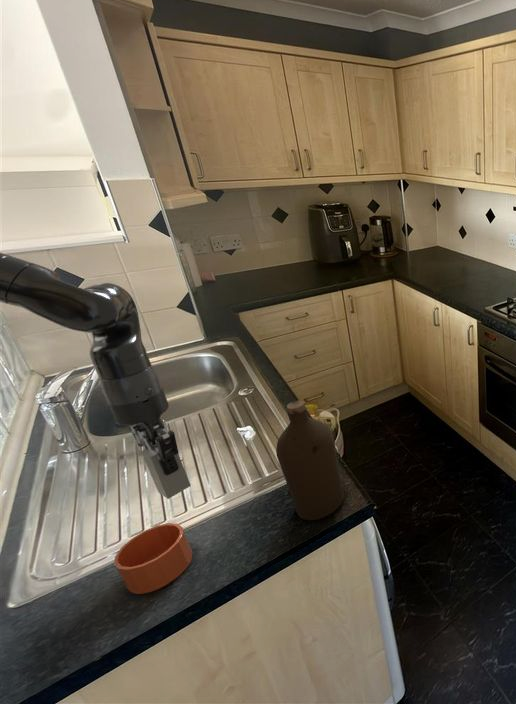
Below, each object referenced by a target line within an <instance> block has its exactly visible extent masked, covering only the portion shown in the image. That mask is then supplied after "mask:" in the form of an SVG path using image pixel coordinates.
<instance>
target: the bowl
mask: <svg viewBox="0 0 516 704" xmlns="http://www.w3.org/2000/svg"><path fill="white" fill-rule="evenodd" d="M192 560H193V550H192V546H191V544H190V542H189V539H188V537H187V534H186V533H185V530H184V528H183V526H182V525H180V524H178V523H175V522H174V523H172V522H167V523H162V524H158V525H155V526H152V527H151V528H148V529H146V530H143V531H142V532H140V533H138V534H137V535H135V536H133V537H132V538H131V539H129V540H128V541H127V542H126V543H124V545H122V546H121V548H119V550H118V552H117V553H116V555H115V556H114V561H113V565H114V567H115V569H116V571H117V573H118V575H119V577H120V579H121V582H122V583H123V584H124V586H125V588H126V589H127V591H128V592H130V594H135V595H143V594H148V593H152V592H154V591H157V590H159V589H161V588H163V587H166V586H167V585H168V584H170V583H172V582H174V581H175V580H176V579H177V578H178V577H180V576H181V575H182V574H183V573H184V571H185V570H187V568H188V567H189V565H190V564H191V562H192Z"/></svg>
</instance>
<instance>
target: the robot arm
mask: <svg viewBox="0 0 516 704" xmlns="http://www.w3.org/2000/svg"><path fill="white" fill-rule="evenodd" d="M0 303H3V304H6V305H10V306H14V307H18V308H21V309H24V310H27V311H28V312H30V313H32V314H34V315H36V316H38V317H41V318H43V319H45V320H46V321H49V322H51V323H54V324H55V325H58V326H60V327H63V328H66V329H68V330H73V331H75V332H82V333H89V334H91V335H92V344H91V346H90V347H89V359H90V360H91V363H92V366H93V368H94V370H95V372H96V374H97V378H98V379H99V382H100V387H101V391H102V393H103V395H104V397H105V400H106V402H107V404H108V406H109V409H110V411H111V414H112V416H113V418H114V420H115V422H116V424H118V425H120V426H127V427H128V428H129V431H130V432H131V434H132V436H133V438H134V439H135V441H136V443H137V446H138V447H140V448H142V451H143V450H145V449H147V448H148V449H149V450H151V451H154V453H155V455H156V457H157V460H158V461H159V463H160V465H161V468H162V470H163V473H164V474H165V475H170V474H172V473H174V472H175V471H177V470H178V469H179V467H178V464H177V462H176V459H175V457H174V455H176V454H179V448H178V444H177V440H176V435H175V432H174V431H173V429H171V430H168V425H167V422H166V420H164V419H161V416H162V415H164V413H166V411H168V409H169V406H170V404H169V401H168V398H167V396H166V394H165V391H164V388H163V386H162V383H161V381H160V378H159V375H158V374H157V372H156V370H155V368H154V367H153V364H152V363H151V359H150V357H149V355H148V352H147V350H146V347H145V345H144V343H143V339H142V330H141V324H140V317H139V313H138V308H137V305H136V302H135V300H134V298H133V297H132V295H131V294H130V293H129V292H128V290H126V289H125V288H123V287H122V286H119V285H118V284H115V283H111V282H99V283H94V284H90V285H88V286H87V287H85V288H82V287H79V286H76V285H73V284H71V283H68V282H65V281H63V280H61V279H60V276H59V274H57V272H56V271H54V270H52V269H50V268H48V267H46V266H43V265H40V264H37V263H34V262H31V261H28V260H25V259H22V258H18V257H16V256H13V255H10V254H7V253H4V252H1V251H0Z"/></svg>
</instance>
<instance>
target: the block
mask: <svg viewBox="0 0 516 704" xmlns="http://www.w3.org/2000/svg"><path fill="white" fill-rule="evenodd" d="M140 452H141V455H142V457H143V460H144V462H145V464H146V467H147V469H148V471H149V474H150V476H151V478H152V480H153V483H154V485H155V487H156V491H157V492H158V493H159V494H160V495H162V496H163V497H164V498H166V499H167V500H169V499H171V498H173V497H174V496H176V495H178V494H179V493H181V492H183V491H184V490H186V489H189V488H190V487H192V486H191V482H190V480H189V476H188V475H187V472H186V469H185V466H184V464H183V462H182V459H181V457H180V454H179V453H178V454H176V455H174V457H175V459H176V462H177V464H178V467H179V469H178V470H177V471H175V472H174V473H172V474H170V475H165V474H164V473H163V470H162V468H161V465H160V463H159V461H158V460H157V457H156V455H155V453H154V451H151V450H149V449H148V448H147V449H145V450H143V449H142V450H140Z"/></svg>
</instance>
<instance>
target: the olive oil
mask: <svg viewBox="0 0 516 704" xmlns="http://www.w3.org/2000/svg"><path fill="white" fill-rule="evenodd" d="M286 410H287V416H288V419H289V423H288V425H287V426H286V427H285V428H284V430H283V431H282V433H280V436H279V437H278V439H277V442H276V449H275V450H276V451H275V452H276V458H277V461H278V464H279V466H280V469H281V471H282V474H283V477H284V479H285V483H286V485H287V487H288V492H287V493H288V495H289V497H291V499H292V502H293V505H294V509H295V511H296V514H297V516H298V517H299V518H300V519H302V520H304V521H317V520H321V519H323V518H326V517H327V516H330V515H331V514H333V513H335V511H336V510H338V508H340V507H341V505H342V503H343V501H344V497H345V496H344V489H343V484H342V479H341V474H340V467H339V461H338V453H337V448H336V442H335V435H334V433H333V431H332V430H331V428H330V427H329V426H328V425H327V424H326V423H324V422H322V421H320V420H319V419H315V418H312V417H309V413H308V408H307V406H306V403H305V401H304V400H301V399H300V400H299V399H298V400H293V401H291V402H289V403H288V404H287V405H286Z"/></svg>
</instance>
